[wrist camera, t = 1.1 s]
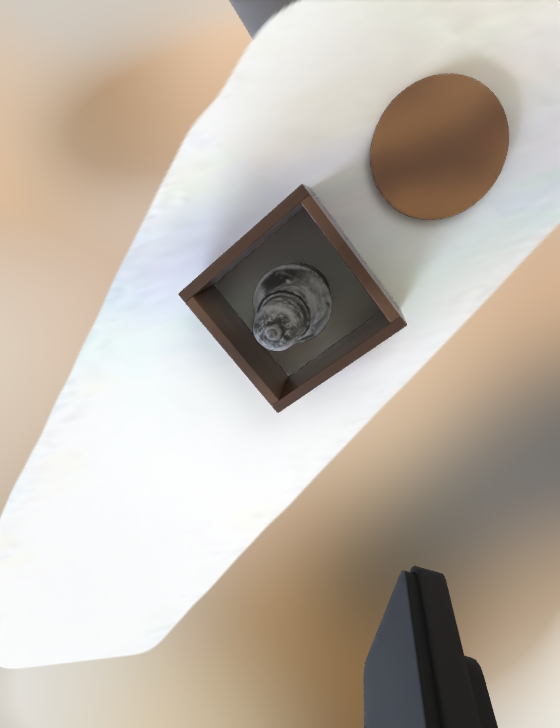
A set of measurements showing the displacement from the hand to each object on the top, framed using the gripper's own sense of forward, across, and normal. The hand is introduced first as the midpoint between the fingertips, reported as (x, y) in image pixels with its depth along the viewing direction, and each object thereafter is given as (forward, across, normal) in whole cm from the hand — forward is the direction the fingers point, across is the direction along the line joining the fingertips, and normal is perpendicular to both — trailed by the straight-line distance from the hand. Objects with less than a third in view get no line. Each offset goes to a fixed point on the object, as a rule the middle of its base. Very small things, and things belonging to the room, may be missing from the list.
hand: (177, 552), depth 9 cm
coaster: (+28, -6, -12) cm, 31 cm away
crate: (+28, +1, 0) cm, 28 cm away
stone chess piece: (+28, +1, 0) cm, 28 cm away
